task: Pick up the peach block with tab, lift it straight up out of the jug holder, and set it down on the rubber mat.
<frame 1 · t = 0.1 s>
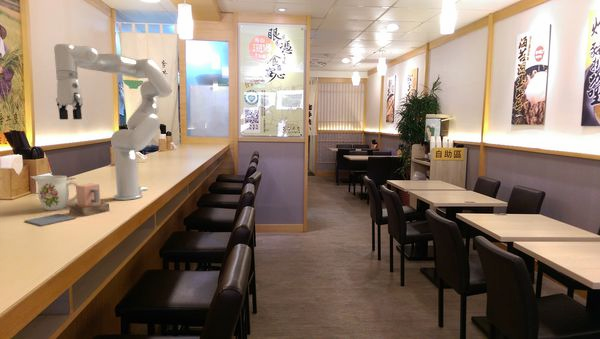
hand: (70, 119, 168), 37 cm above the table, tool pointing down, fingers open, 9 cm apart
rubber mat: (50, 220, 152), on the table
jug holder: (89, 211, 165), on the table
pitcher: (57, 208, 172), on the table
peach block with tab: (89, 212, 165), resting in jug holder
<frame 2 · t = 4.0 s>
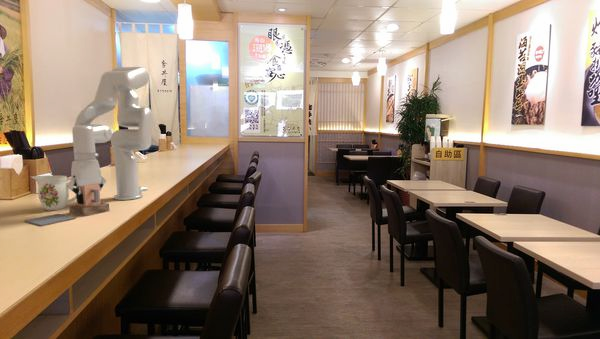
hand: (88, 201, 164), 4 cm above the table, tool pointing down, fingers closed on peach block with tab, 6 cm apart
peach block with tab: (89, 212, 165), resting in jug holder, touching gripper
everything else where it was.
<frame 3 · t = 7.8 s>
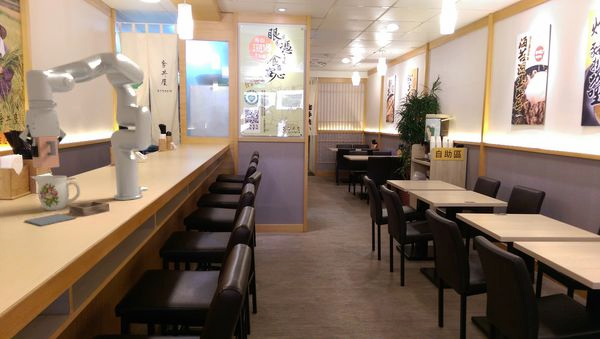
hand: (45, 155, 149), 24 cm above the table, tool pointing down, fingers closed on peach block with tab, 6 cm apart
peach block with tab: (46, 167, 150), point 20 cm above the table, touching gripper
everything else where it was.
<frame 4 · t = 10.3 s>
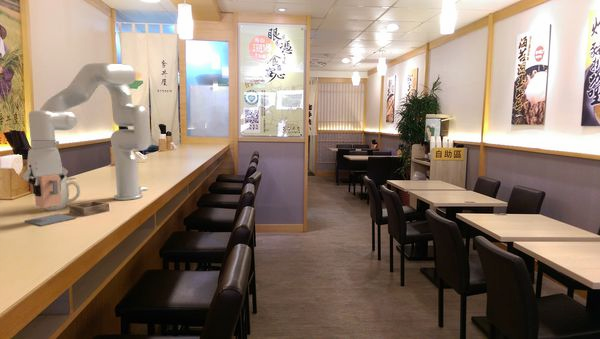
hand: (47, 194, 151), 10 cm above the table, tool pointing down, fingers closed on peach block with tab, 6 cm apart
peach block with tab: (48, 205, 151), point 6 cm above the table, touching gripper
everything else where it was.
when the fingers open (6 cm above the table, at t = 12.1 s): peach block with tab drops 1 cm, resting on rubber mat.
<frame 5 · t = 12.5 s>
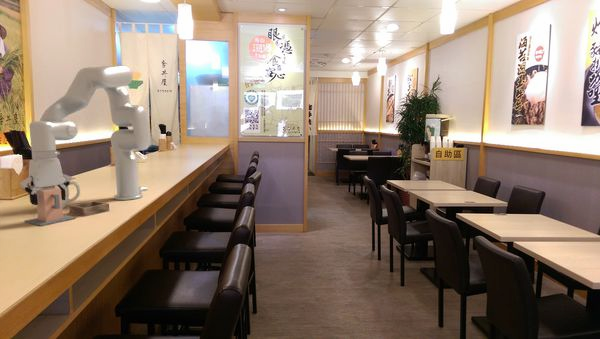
hand: (48, 202, 151), 7 cm above the table, tool pointing down, fingers open, 9 cm apart
peach block with tab: (50, 218, 152), resting on rubber mat
everything else where it was.
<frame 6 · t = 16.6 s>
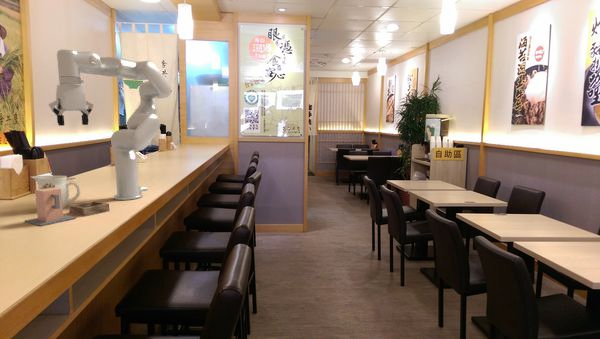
hand: (73, 125, 167), 34 cm above the table, tool pointing down, fingers open, 9 cm apart
nothing on the table moved.
at the end: peach block with tab 0.1 cm off-centre on the rubber mat, point 0.5 cm above the rubber mat's base; peach block with tab tilted 0°; the gripper is holding nothing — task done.
